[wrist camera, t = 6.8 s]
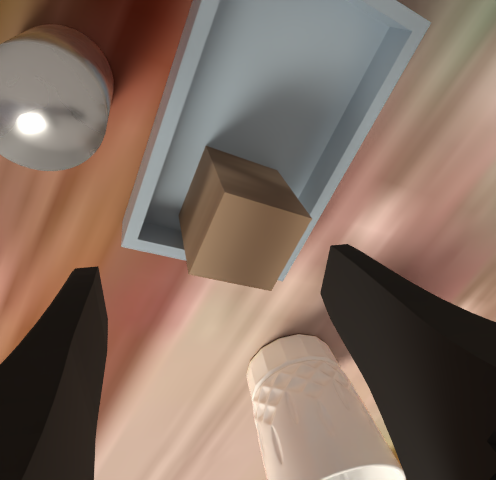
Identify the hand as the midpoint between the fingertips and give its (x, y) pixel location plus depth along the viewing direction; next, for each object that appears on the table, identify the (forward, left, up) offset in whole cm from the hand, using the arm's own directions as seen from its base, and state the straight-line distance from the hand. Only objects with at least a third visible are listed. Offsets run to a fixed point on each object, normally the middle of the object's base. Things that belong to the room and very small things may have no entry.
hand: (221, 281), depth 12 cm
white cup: (+13, -13, -10) cm, 21 cm away
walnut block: (+2, -1, -9) cm, 9 cm away
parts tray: (+2, +3, -9) cm, 10 cm away
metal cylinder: (-6, +2, -9) cm, 11 cm away
